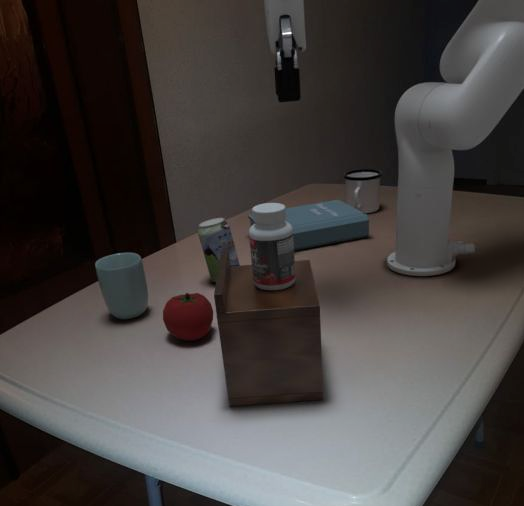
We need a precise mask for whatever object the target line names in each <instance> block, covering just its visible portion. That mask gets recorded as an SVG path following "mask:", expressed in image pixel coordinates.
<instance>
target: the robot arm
mask: <svg viewBox="0 0 524 506" xmlns="http://www.w3.org/2000/svg"><path fill="white" fill-rule="evenodd" d="M263 7H264V16H265V24H266V33H267V39H268V45H269V50H270V52H271V54H273V55H274V61H275V62H274V63H275V64H274V65H275V66H274V67H273V70H274V84H275V85H274V87H275V95H276V96H277V101H278V102H279V103H291V102H299V101H300V100H301V94H302V93H301V75H300V68H299V62H298V52H299V53H304V52H305V51H306V50H307V39H306V23H305V20H306V19H305V3H304V0H263ZM297 50H298V51H297ZM439 60H440V61H439V73H440V75H441V78H442V79H443V80H444V81H445V82H438V81H430V82H429V81H428V82H427V81H425V82H422V83H421V82H420V83H417V84H415V85H413V86H411V87H410V88H408V89H407V90H406V91H404V93H403V94H402V95H401V96H400V98H399V100H398V101H397V104H396V106H395V110H394V130H395V137H396V145H397V155H398V156H397V157H398V158H397V159H398V175H397V178H398V179H397V196H396V198H397V200H396V201H397V202H396V224H395V225H396V226H395V251H394V252H392V253H390V254H389V255H388V256H387V257H386V265H387V267H388V269H390V270H391V271H393V272H395V273H397V274H401V275H406V276H412V277H430V276H438V275H442V274H445V273H447V272H450V271H452V270H453V269H454V268H455V267H456V257H457V256H458V255H470V254H474V253H475V248H476V247H475V243H474V242H471V243H464V241H463V240H458V241H452V240H450V228H451V214H452V203H453V202H452V201H453V191H454V180H455V159H454V155H453V150H454V151H469V150H471V149H473V148H476V147H477V146H478V145H480V144H481V143H482V142H483V141H484V140H486V138H487V137H488V136H489V135H490V134H491V133H492V131H493V130H494V129H495V128H496V127H497V125H498V124H499V122H500V121H501V120H502V119H503V117H504V116H505V114H506V113H507V112H508V110H509V109H510V108H511V106H512V105H513V104H514V102H515V101H516V100H517V99H518V97H519V96H520V95H521V93H522V92H523V90H524V0H477V2H476V4H475V5H474V6H473V8H472V10H471V11H470V12H469V14H468V15H467V17H466V18H465V19H464V20H463V22H462V23H461V25H460V26H459V28H458V29H457V31H456V32H455V33H454V35H453V36H452V37H451V39H450V40H449V42H448V43H447V44H446V46H445V48H444V50H443V52H442V54H441V57H440V59H439Z"/></svg>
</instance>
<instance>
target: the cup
mask: <svg viewBox="0 0 524 506" xmlns="http://www.w3.org/2000/svg"><path fill="white" fill-rule="evenodd" d="M94 268H95V273H96V277H97V281H98V285H99V289H100V292H101V296H102V298H103V301H104V304H105V306H106V308H107V310H108V312H109V313H110V314H111V315H112V316H113V317H115V318H117V319H121V320H129V319H134V318H137V317H139V316H141V315H142V314H144V313H145V312H146V311H147V308H148V304H149V291H148V282H147V277H146V272H145V268H144V263H143V259H142V257H141V256H140V254H138V253H136V252H118V253H114V254H113V253H112V254H110V255H106V256H103V257H100V258H98V260H96V261H95V263H94Z"/></svg>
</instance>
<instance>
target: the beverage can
mask: <svg viewBox="0 0 524 506" xmlns="http://www.w3.org/2000/svg"><path fill="white" fill-rule="evenodd" d="M197 235H198V239H199V243H200V245H201V249H202V253H203V256H204V259H205V263H206V267H207V269H208V273H209V277H210V280H211V282H213V283H216V280H217V274H218V268H219V262H220V256H221V251H222V250H229V258H230V266H241V265H240V261H239V257H238V252H237V249H236V245H235V241H234V238H233V234H232V230H231V225H230V224H229V222H227V221H226V219H225V218H224V217H215V218H211V219H208V220H205V221H203V222H200V223H199V224H198V231H197Z"/></svg>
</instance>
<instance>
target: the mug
mask: <svg viewBox="0 0 524 506" xmlns="http://www.w3.org/2000/svg"><path fill="white" fill-rule="evenodd" d="M342 176H343V179H345V203H346V204H348V205H349V206H351V207H353V208H355V209H357V210H359V211H361V212H363V213H364V214H366V215H368V214H372V213H375V212H377V211H378V210H380V191H381V190H380V189H381V188H380V187H381V185H380V184H381V177H383V172H382V171H381V170H379V169H373V168H362V169H353V170H349V171H346V172H344V173H343V175H342Z"/></svg>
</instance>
